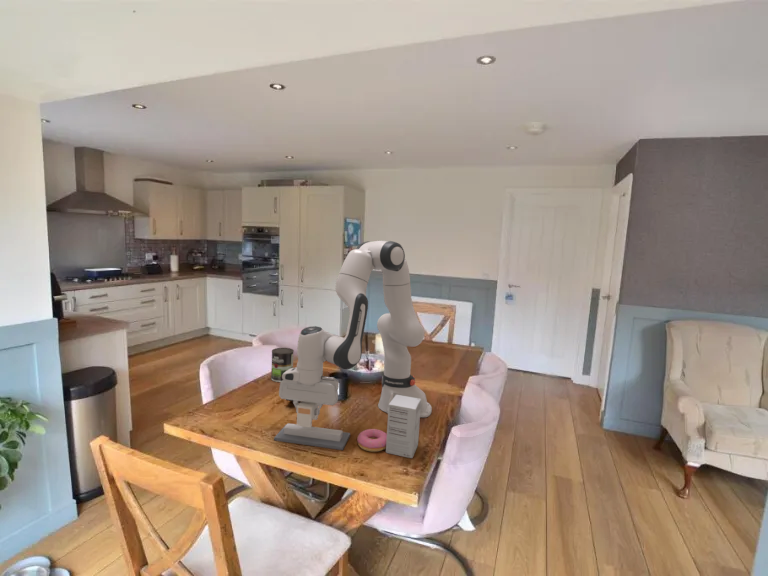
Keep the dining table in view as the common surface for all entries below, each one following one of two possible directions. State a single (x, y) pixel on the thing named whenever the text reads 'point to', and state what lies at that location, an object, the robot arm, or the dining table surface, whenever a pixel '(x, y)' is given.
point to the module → (306, 414)
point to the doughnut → (372, 440)
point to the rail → (312, 440)
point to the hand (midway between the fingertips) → (307, 413)
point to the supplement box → (403, 426)
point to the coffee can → (281, 362)
